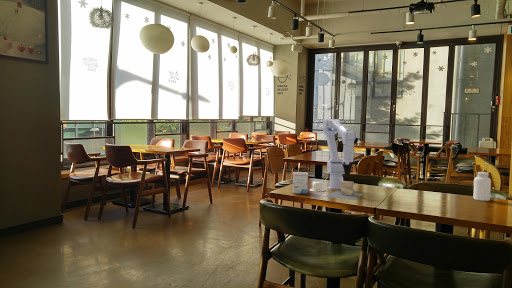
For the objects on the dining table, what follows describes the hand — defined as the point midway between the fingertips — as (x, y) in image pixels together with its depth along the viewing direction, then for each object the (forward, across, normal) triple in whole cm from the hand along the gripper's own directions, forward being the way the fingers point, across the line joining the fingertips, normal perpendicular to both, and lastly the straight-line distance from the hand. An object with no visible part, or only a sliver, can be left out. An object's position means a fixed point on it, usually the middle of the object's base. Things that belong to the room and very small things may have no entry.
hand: (347, 175), depth 223 cm
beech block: (+10, +5, 0) cm, 11 cm away
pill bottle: (+10, -9, +71) cm, 73 cm away
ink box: (+11, +8, -26) cm, 29 cm away
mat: (+10, +9, -1) cm, 14 cm away
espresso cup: (+10, -2, -18) cm, 20 cm away
